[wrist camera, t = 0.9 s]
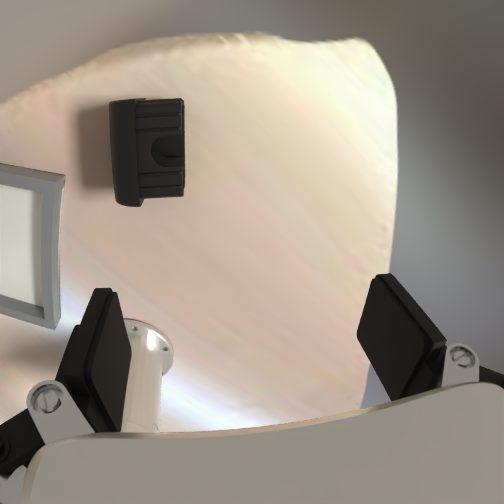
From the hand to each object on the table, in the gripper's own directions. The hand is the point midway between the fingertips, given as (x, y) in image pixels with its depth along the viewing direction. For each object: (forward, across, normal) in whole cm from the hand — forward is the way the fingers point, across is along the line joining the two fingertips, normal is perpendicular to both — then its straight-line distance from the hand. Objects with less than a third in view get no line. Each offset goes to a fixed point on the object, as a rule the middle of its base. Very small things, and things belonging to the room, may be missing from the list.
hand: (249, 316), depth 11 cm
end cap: (+26, +7, -2) cm, 27 cm away
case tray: (+26, +30, +8) cm, 41 cm away
